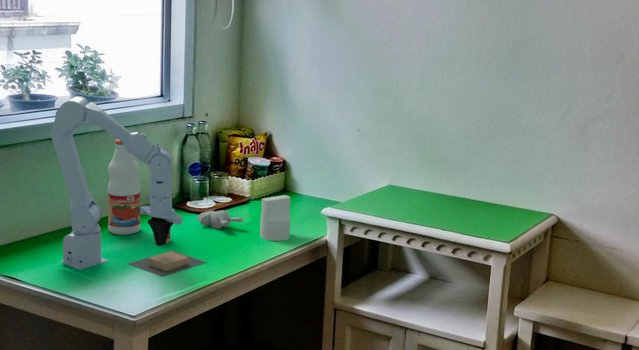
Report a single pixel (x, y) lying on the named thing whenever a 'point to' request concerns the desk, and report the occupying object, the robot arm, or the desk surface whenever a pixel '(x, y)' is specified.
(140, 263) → the mat
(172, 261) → the block
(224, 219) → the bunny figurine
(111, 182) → the fruit juice
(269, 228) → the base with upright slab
